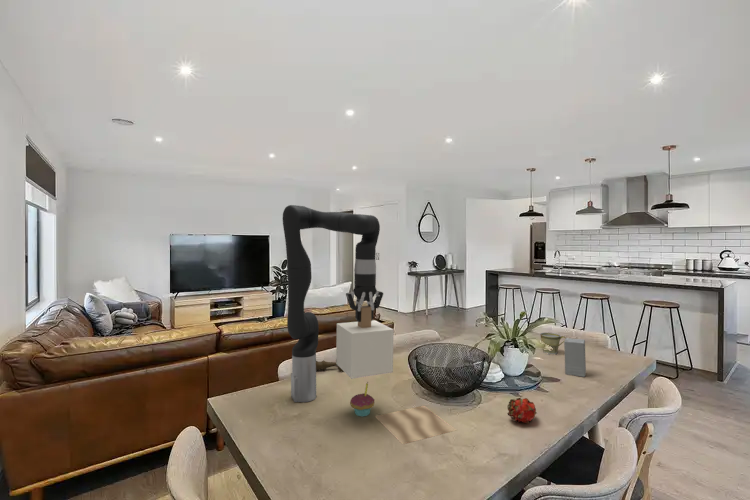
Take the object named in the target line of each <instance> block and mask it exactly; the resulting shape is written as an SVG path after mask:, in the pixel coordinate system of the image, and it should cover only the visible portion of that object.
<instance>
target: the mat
mask: <svg viewBox="0 0 750 500" xmlns="http://www.w3.org/2000/svg"><path fill="white" fill-rule="evenodd" d="M374 417H375V418H376V419H377V420H378V422H380V424H381V425H382V426H384V427H385V429H386V430H387V431H389V432H390V434H391V435H392V436H393V437H394V438H396V439H397V441H398V442H399V443H400V444H401V445H405V444H406V445H407V444H409V443H414V442H418V441H421V440H425V439H429V438H432V437H437V436H441V435H444V434H448V433H452V432H456V431H457V428H455V427H454V426H452V425H451V424H449V423H448V422H447V421H445V419H443V418H441V417H440V416H439V415H437V414H436V413H434V412H433V411H432V410H431V409H429V408H428V407H427V406H425V405H420V406H415V407H412V408H411V407H410V408H406V409H401V410H397V411H392V412H388V413H382V414H378V415H375V416H374Z"/></svg>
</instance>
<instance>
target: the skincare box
mask: <svg viewBox="0 0 750 500" xmlns="http://www.w3.org/2000/svg"><path fill="white" fill-rule="evenodd" d="M563 341H564V342H563V344H564V345H563V347H564V373H565V375H567V376H568V375H569V376H574V377H575V376H576V377H583V378H585V377H586V374H587V373H586V372H587V363H586V339H581V338H570V337H569V338H568V337H566V339H565V338H564V340H563Z"/></svg>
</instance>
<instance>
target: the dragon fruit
mask: <svg viewBox="0 0 750 500" xmlns="http://www.w3.org/2000/svg"><path fill="white" fill-rule="evenodd" d="M507 411H508V412H507V416H509V417H511V420H512V421H515V422H516V423H520V422H522V423H524V424H526V425H528V424H530V423H529V422H532V420H533V419H534V418H535V417H536V414H538V413H537V409H536V405H535V402H533V401H530V399H529V398H528V397H524V398H521V397H516V399H515V398H513V399H510V400H509V402H508V404H507Z"/></svg>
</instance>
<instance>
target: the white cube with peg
mask: <svg viewBox="0 0 750 500" xmlns="http://www.w3.org/2000/svg"><path fill="white" fill-rule="evenodd" d="M394 332H395V331H394V328H391V327H390V326H387V325H385V324H383V323H382V322H380V321H378V320H375V319H372V321H371V307H370V306H368V304H367V305H362V307H361V322H358V321H351V322H350V321H348V322H338V323H336V341H335V343H336V349H335V351H336V353H335V355H336V356H335V357H336V358H335V362H336V364H337V367H338V366H339V367H340V368H341V369H342V370H343V371H344V372H343V373H345V374H346V375H347V376H348V377H349V378H350V379H358V378H364V377H365V378H366V377H371V376H379V375H385V374H391V373H394V335H395V334H394Z"/></svg>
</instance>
